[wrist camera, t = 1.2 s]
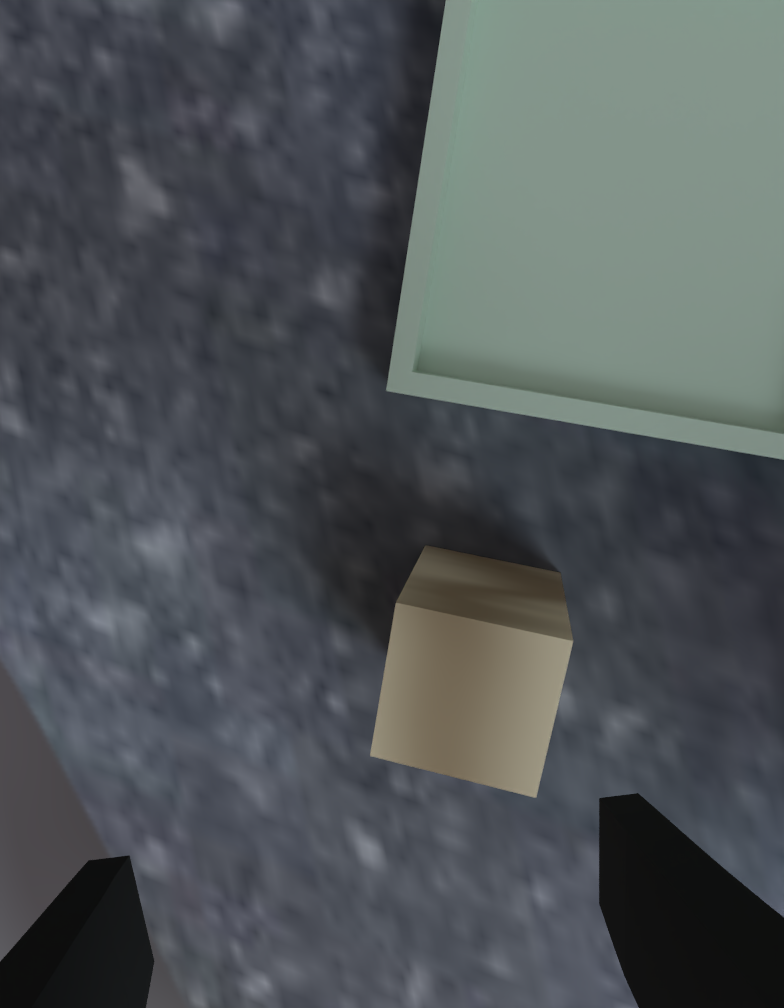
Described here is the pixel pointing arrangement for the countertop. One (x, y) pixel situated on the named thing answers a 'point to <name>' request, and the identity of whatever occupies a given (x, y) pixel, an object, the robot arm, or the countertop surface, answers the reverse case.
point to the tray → (604, 219)
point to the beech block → (474, 670)
